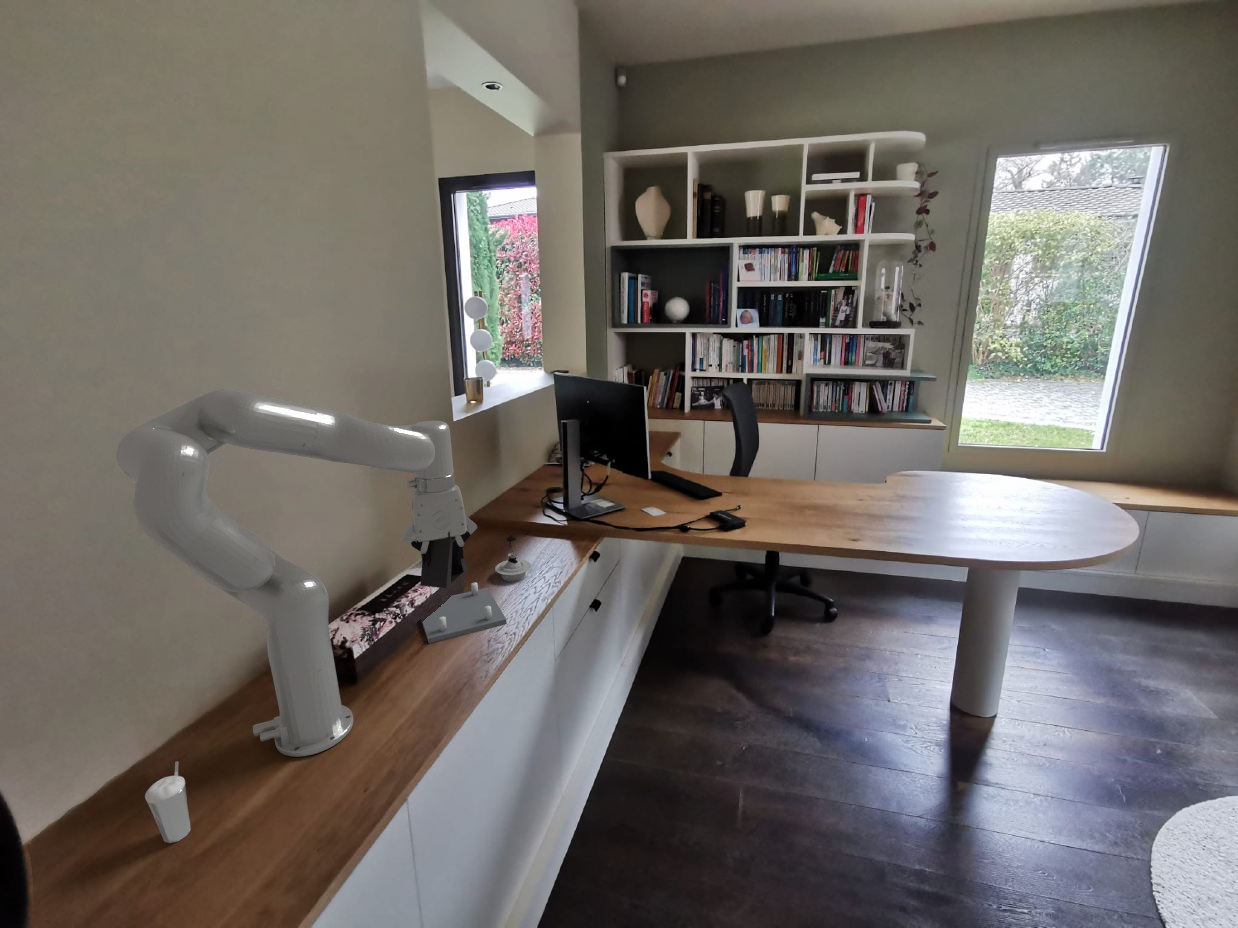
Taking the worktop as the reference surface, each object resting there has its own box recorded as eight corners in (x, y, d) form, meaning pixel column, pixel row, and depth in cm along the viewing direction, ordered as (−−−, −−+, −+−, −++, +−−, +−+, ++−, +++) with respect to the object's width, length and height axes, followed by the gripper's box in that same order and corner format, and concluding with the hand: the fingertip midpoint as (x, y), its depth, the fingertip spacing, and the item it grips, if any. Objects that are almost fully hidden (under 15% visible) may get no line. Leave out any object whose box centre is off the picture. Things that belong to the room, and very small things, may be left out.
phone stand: (446, 589, 120) (440, 533, 117) (420, 586, 121) (413, 531, 118) (468, 570, 128) (463, 518, 125) (443, 567, 130) (438, 516, 127)
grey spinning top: (537, 532, 164) (510, 525, 169) (511, 544, 156) (484, 537, 161) (539, 573, 167) (513, 565, 173) (514, 587, 159) (488, 578, 165)
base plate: (428, 643, 134) (426, 626, 133) (416, 607, 149) (415, 592, 148) (506, 623, 142) (505, 607, 140) (487, 591, 157) (486, 577, 156)
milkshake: (206, 815, 90) (193, 760, 87) (183, 846, 85) (167, 789, 82) (176, 816, 90) (161, 761, 87) (150, 848, 84) (133, 791, 82)
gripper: (392, 494, 112) (402, 581, 117) (482, 481, 120) (488, 564, 124) (388, 483, 119) (398, 566, 124) (473, 472, 126) (480, 551, 131)
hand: (443, 564), depth 124 cm, fingers closed on phone stand, 5 cm apart
